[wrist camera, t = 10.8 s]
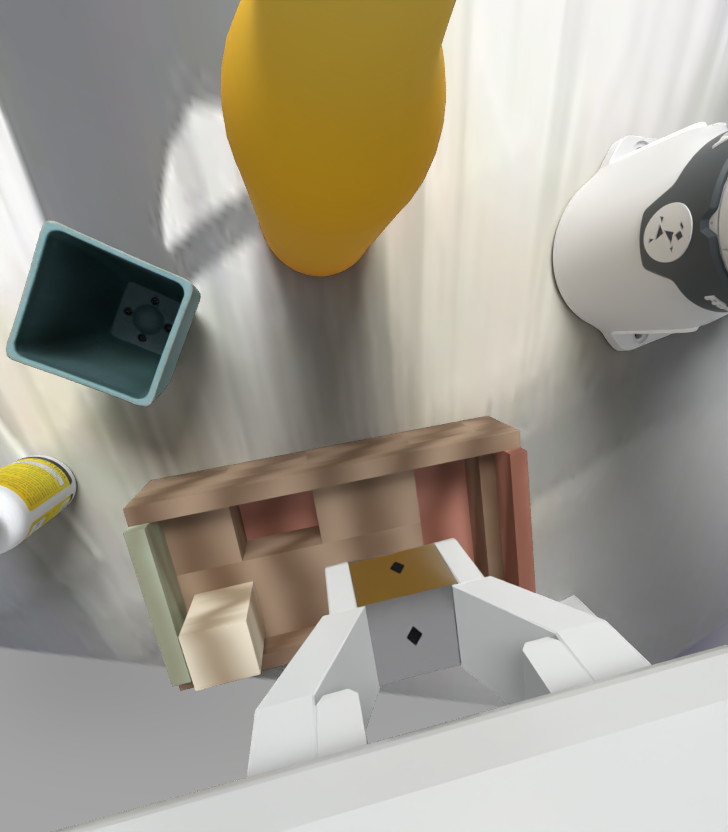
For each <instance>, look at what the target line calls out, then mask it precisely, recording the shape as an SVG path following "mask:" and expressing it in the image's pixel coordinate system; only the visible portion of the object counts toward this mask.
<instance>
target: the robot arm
mask: <svg viewBox="0 0 728 832" xmlns="http://www.w3.org/2000/svg"><path fill="white" fill-rule="evenodd" d="M553 268H554V274H555V279H556V282H557V286H558V288H559V291H560V293H561V295H562V297H563V299H564V301H565V302H566V304H567V305H568V306H569V308H570V309H571V310H572V311H573V312H574V313H575V314H576V315H577V316H578V317H580V318H581V319H582V320H584V321H585V322H587V323H589V324H591V325H592V326H594V327H596V328H597V329H599V330H600V331H601V332H602V333H603V335H604V337H605V338H606V340H607V341H608V342H609V344H610V345H611V346H612V347H613V348H614V349H615V350H617V351H629V350H633V349H635V348H638V347H640V346H643V345H645V344H648V343H650V342H653V341H655V340H658V339H660V338H663V337H665V336H668V335H670V334H673V333H686V332H694V331H697V329H698V328H699V326H702V325H705V324H708V323H710V322H713V321H715V320H717V319H719V318H721V317H723V316H725V315H727V314H728V129H727V124H726V123H715V124H712V125H709V126H707V125H706V123H705V122H701V123H697V124H694V125H691V126H689V127H686V128H684V129H682V130H679V131H677V132H675V133H673V134H670V135H668V136H666V137H664V138H661V139H654V138H647V137H639V136H626V137H624V138H621V139H619V140H617V141H616V142H614V143H613V145H612V146H611V147H610V149H609V151H608V152H607V154H606V156H605V158H604V160H603V162H602V164H601V166H600V168H599V170H598V171H597V173H596V174H595V175H594V176H593V177H592V178H591V179H590V180H589V181H588V182H587V183H586V184H585V185H584V186H582V187H581V188H580V190H579V191H578V192H577V193H576V194H575V195H574V197H573V198H572V199H571V201H570V202H569V204H568V205H567V207H566V209H565V211H564V213H563V215H562V217H561V219H560V222H559V225H558V228H557V231H556V235H555V240H554V247H553ZM635 334H637V335H636V337H635ZM348 564H349V566H348ZM349 570H350V571H349ZM325 576H326V586H327V596H328V606H329V615H325V616H323V617H322V618H321V619H320V621H319V622H318V623H317V625H316V626H315V628H314V629H313V630H312V632H311V633H310V635H309V636H308V637H307V639H306V640H305V642H304V643H303V644H302V646H301V647H300V649H299V650H298V651H297V653H296V654H295V656H294V657H293V658H292V660H291V661H290V663H289V664H288V665H287V667H286V668H285V670H284V671H283V672H282V674H281V675H280V677H279V678H278V679H277V681H276V682H275V683H274V685H273V686H272V688H271V689H270V691H269V692H268V693H267V695H266V696H265V697H264V699H263V700H262V702H261V703H260V704H259V706H258V707H257V709H256V710H255V716H254V724H253V732H252V740H251V748H250V756H249V765H248V773H247V778H243V779H240V780H237V781H232V782H229V783H225V784H222V785H218V786H214V787H211V788H208V789H204V790H200V791H197V792H193V793H189V794H186V795H182V796H178V797H175V798H171V799H168V800H164V801H160V802H157V803H153V804H149V805H146V806H143V807H139V808H135V809H132V810H128V811H124V812H121V813H117V814H113V815H110V816H107V817H103V818H99V819H95V820H92V821H89V822H85V823H81V824H77V825H74V826H70V827H66V828H63V829H59V830H56V831H52V832H728V644H726V645H722V646H719V647H715V648H712V649H708V650H705V651H701V652H697V653H694V654H690V655H686V656H683V657H679V658H675V659H672V660H668V661H665V662H661V663H657V664H654V665H651V664H650V663H649V662H648V661H647V660H646V659H645V658H644V657H643V656H642V655H641V654H640V653H639V652H638V651H637V650H636V649H635V648H634V647H633V646H632V645H631V644H630V643H629V642H627V641H626V640H625V639H624V638H623V637H622V636H621V635H620V634H619V633H618V632H617V631H616V630H615V629H614V628H613V627H612V626H611V625H610V624H609V623H608V622H607V621H606V620H603V619H601V618H598V617H596V616H593V615H590V614H588V613H585V612H583V611H580V610H577V609H575V608H572V607H570V606H567V605H565V604H562V603H559V602H557V601H554V600H552V599H549V598H546V597H544V596H541V595H539V594H536V593H533V592H531V591H528V590H526V589H523V588H521V587H518V586H515V585H513V584H510V583H508V582H505V581H502V580H500V579H497V578H495V577H492V576H489V577H484V576H483V575H482V573H481V572H480V571H479V569H478V568H477V567H476V565H475V564H474V563H473V561H472V560H471V559H470V557H469V556H468V555H467V553H466V552H465V551H464V549H463V548H462V547H461V545H460V544H459V543H458V541H457V540H456V539H454V538H450V539H446V540H442V541H439V542H435V543H432V544H428V545H424V546H420V547H416V548H412V549H408V550H404V551H400V552H396V553H392V554H391V553H389V554H384V555H379V556H374V557H369V558H364V559H359V560H354V561H349V562H348V563H347V562H344V563H339V564H335V565H331V566H327V567H325ZM459 665H461V667H462V668H463V669H465V670H466V671H467V672H468V673H470V674H471V675H472V676H474V677H475V678H476V679H477V680H479V681H480V682H481V683H483V684H484V685H485V686H487V687H488V688H489V689H490V690H492V691H493V692H494V693H496V694H497V695H498V696H499V697H501V698H502V699H503V700H505V701H506V702H507V703H508V704H509V705H506V706H502V707H499V708H495V709H492V710H488V711H484V712H481V713H477V714H474V715H470V716H467V717H463V718H459V719H456V720H453V721H449V722H445V723H442V724H438V725H435V726H431V727H427V728H424V729H420V730H417V731H413V732H409V733H406V734H402V735H398V736H395V737H391V738H388V739H384V740H380V741H377V742H373V743H370V744H368V743H367V737H366V732H365V731H366V728H367V725H368V722H369V719H370V716H371V713H372V710H373V708H374V704H375V702H376V698H377V696H378V693H379V690H380V688H379V686H383V685H386V684H389V683H393V682H396V681H400V680H403V679H406V678H410V677H413V676H416V675H420V674H424V673H429V672H433V671H437V670H442V669H446V668H450V667H455V666H459Z"/></svg>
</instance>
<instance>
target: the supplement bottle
mask: <svg viewBox="0 0 728 832" xmlns="http://www.w3.org/2000/svg"><path fill="white" fill-rule="evenodd" d="M75 493H76V481H75V478H74V475H73V474H72V472H71V470H70V469H69V468H68V467H67V466H66V465H65V464H64V463H62V462H61V461H59V460H57V459H55V458H52V457H48V456H42V455H36V456H29V457H25V458H22V459H20V460H17V461H15V462H13V463H11V464H9V465H7V466H5V467H3V468H1V469H0V554H1V553H4V552H6V551H9V550H10V549H12V548H14V547H15V546H17V545H18V544H20V543H21V542H22V541H23V540H25V539H26V538H27V537H28V536H30V535H31V534H33V533H34V532H35V531H36V530H38V529H39V528H40V527H41V526H43V525H44V524H45V523H47V522H48V521H49V520H51V519H52V518H53V517H55V516H56V515H57V514H58V513H60V512H61V511H62V510H63V509H65V508H66V507H67V506H68V505H69V504H70V503H71V501H72V500H73V498H74V496H75Z"/></svg>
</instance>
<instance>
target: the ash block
mask: <svg viewBox="0 0 728 832" xmlns="http://www.w3.org/2000/svg"><path fill="white" fill-rule="evenodd" d="M178 638H179V641H180V644H181V647H182V650H183V653H184V657H185V660H186V663H187V666H188V669H189V672H190V675H191V678H192V681H193V685H194V688H195V691H198V690H202V689H206V688H210V687H213V686H217V685H221V684H225V683H229V682H232V681H236V680H240V679H244V678H248V677H252V676H256V675H259V674H261V666H262V657H263V648H264V639H265V625H264V621H263V617H262V613H261V609H260V606H259V602H258V598H257V594H256V590H255V586H254V582H253V581H252V582H247V583H243V584H239V585H235V586H230V587H226V588H222V589H218V590H213V591H209V592H205V593H201V594H196V595H195V596H194V598H193V601H192V603H191V606H190V608H189V611H188V614H187V616H186V619H185V621H184V624H183V627H182V629H181V632H180V634H179V637H178Z"/></svg>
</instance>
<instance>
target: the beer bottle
mask: <svg viewBox="0 0 728 832" xmlns="http://www.w3.org/2000/svg"><path fill="white" fill-rule="evenodd" d="M455 2H456V0H241V2H240V3H239V6H238V9H237V11H236V14H235V17H234V19H233V22H232V25H231V27H230V30H229V33H228V35H227V39H226V45H225V50H224V56H223V62H222V71H221V101H222V111H223V117H224V123H225V128H226V134H227V138H228V141H229V144H230V147H231V150H232V153H233V156H234V159H235V162H236V164H237V166H238V168H239V171H240V173H241V176H242V178H243V181H244V184H245V186H246V189H247V191H248V194H249V197H250V199H251V202H252V204H253V207H254V210H255V212H256V215H257V218H258V220H259V224H260V227H261V230H262V233H263V236H264V238H265V240H266V242H267V244H268V246H269V247H270V249H271V250H272V251H273V253H274V254H275V255H276V256H277V258H279V259H280V260H281V261H282V262H283V263H284V264H285V265H287V266H288V267H290V268H292V269H293V270H295V271H297V272H300V273H302V274H305V275H311V276H329V275H334V274H337V273H340V272H342V271H345V270H346V269H348V268H349V267H351V266H352V265H354V264H355V263H356V262H357V261H358V260H359V259H360V258H361V257H362V256H363V254H364V253H365V251H366V250H367V248H368V247H369V246H370V245H371V244H372V243H373V242H374V240H375V239H376V238H377V237H378V236H379V235H380V234H381V232H382V231H383V230H384V229H385V228H386V227H387V226H388V224H389V223H390V222H391V221H392V220H393V219H394V218H395V216H396V215H397V214H398V213H399V212H400V211H401V210H402V209H403V208H404V207H405V206H406V205H407V204H408V203H409V201H410V200H411V199H412V197H413V196H414V194H415V193H416V191H417V190H418V188H419V187H420V186H421V184H422V183H423V181H424V179H425V177H426V174H427V172H428V170H429V168H430V166H431V163H432V161H433V159H434V156H435V154H436V151H437V147H438V143H439V139H440V136H441V132H442V127H443V123H444V113H445V103H446V82H445V65H444V56H443V50H442V45H441V44H442V41H443V38H444V35H445V32H446V29H447V26H448V23H449V20H450V17H451V14H452V11H453V8H454V5H455Z"/></svg>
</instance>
